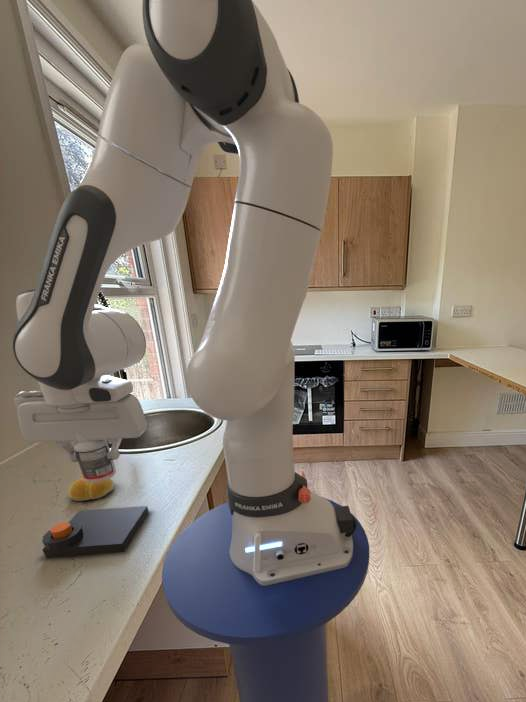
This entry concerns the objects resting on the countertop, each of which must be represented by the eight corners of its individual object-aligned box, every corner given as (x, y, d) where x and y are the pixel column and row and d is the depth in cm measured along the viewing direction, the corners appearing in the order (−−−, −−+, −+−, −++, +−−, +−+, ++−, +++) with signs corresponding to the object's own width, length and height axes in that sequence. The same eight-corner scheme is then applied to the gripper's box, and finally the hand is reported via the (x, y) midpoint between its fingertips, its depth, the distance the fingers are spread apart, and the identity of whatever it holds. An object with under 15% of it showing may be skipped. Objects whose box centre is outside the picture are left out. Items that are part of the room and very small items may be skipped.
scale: (149, 513, 76) (145, 499, 74) (123, 553, 64) (118, 538, 63) (80, 517, 75) (75, 504, 73) (41, 559, 63) (34, 544, 62)
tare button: (75, 528, 66) (73, 521, 66) (66, 538, 64) (63, 531, 63) (59, 529, 66) (56, 522, 66) (49, 539, 63) (46, 532, 63)
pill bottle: (88, 472, 69) (73, 426, 65) (118, 467, 70) (106, 422, 66) (80, 485, 64) (64, 437, 60) (113, 480, 65) (99, 432, 62)
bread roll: (111, 497, 82) (106, 483, 80) (67, 505, 79) (61, 490, 78) (118, 480, 89) (114, 466, 87) (77, 487, 86) (73, 473, 85)
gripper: (-4, 396, 57) (26, 470, 62) (125, 391, 58) (144, 464, 63) (23, 386, 62) (49, 455, 68) (141, 381, 64) (156, 449, 69)
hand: (95, 459), depth 66 cm, fingers closed on pill bottle, 5 cm apart
